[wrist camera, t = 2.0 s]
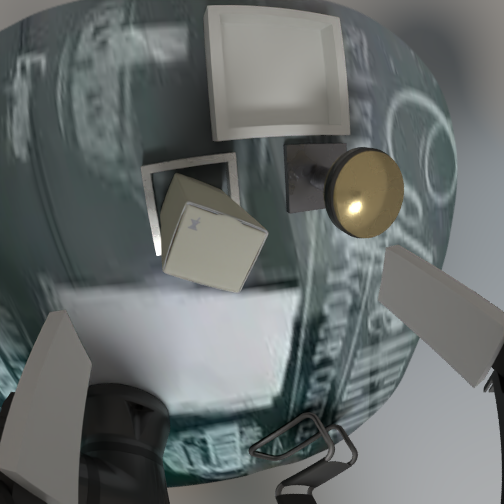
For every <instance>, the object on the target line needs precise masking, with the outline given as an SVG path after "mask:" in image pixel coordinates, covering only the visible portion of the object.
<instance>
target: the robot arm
mask: <svg viewBox="0 0 504 504" xmlns="http://www.w3.org/2000/svg"><path fill="white" fill-rule="evenodd" d="M378 301H379V302H380V303H382V304H383V305H384V306H385V307H386V308H387V309H389V310H390V311H391V312H392V313H393V314H394V315H395V316H397V317H398V318H399V319H400V320H401V321H402V322H403V323H404V324H406V325H407V326H408V327H409V328H410V329H411V330H412V331H413V332H415V333H416V334H417V335H418V336H419V337H420V338H421V339H422V340H423V341H425V342H426V343H427V344H428V345H429V346H430V347H431V348H432V349H433V350H434V351H435V352H436V353H437V354H439V355H440V356H441V357H442V358H443V359H444V360H445V361H446V362H447V363H448V364H449V365H451V367H452V368H453V369H455V370H456V371H457V372H458V373H459V374H460V375H461V376H462V377H463V378H464V379H465V380H466V381H467V382H468V383H469V384H470V385H471V386H472V387H473V388H475V387H476V386H477V385H478V384H479V383H480V382H481V381H482V380H484V378H485V377H486V375H487V374H488V372H489V370H490V368H491V367H492V368H493V369H494V371H493V373H492V375H491V376H490V378H489V380H488V381H487V383H486V384H485V386H484V392H486V391H487V389H488V388H489V386H490V385H491V383H493V384H492V386H491V388H490V389H489V392H495V398H496V404H497V411H498V419H499V426H500V437H501V453H502V493H501V504H504V312H503V311H501V310H500V309H499V308H498V307H496V306H495V305H493V304H492V303H490V302H489V301H488V300H486V299H485V298H483V297H482V296H480V295H479V294H477V293H476V292H474V291H473V290H471V289H469V288H468V287H466V286H465V285H463V284H462V283H460V282H459V281H457V280H456V279H454V278H452V277H451V276H449V275H448V274H446V273H445V272H443V271H441V270H440V269H438V268H437V267H435V266H433V265H432V264H430V263H428V262H427V261H425V260H423V259H422V258H420V257H418V256H417V255H415V254H413V253H412V252H410V251H408V250H406V249H405V248H403V247H401V246H399V245H395V246H391V247H386V252H385V260H384V267H383V273H382V280H381V286H380V292H379V297H378ZM91 368H92V363H91V361H90V359H89V357H88V355H87V353H86V351H85V349H84V347H83V345H82V343H81V341H80V339H79V337H78V335H77V333H76V331H75V329H74V327H73V325H72V322H71V320H70V318H69V316H68V313H67V311H66V310H60V311H53V312H50V313H49V315H48V317H47V319H46V321H45V323H44V325H43V327H42V329H41V331H40V333H39V335H38V337H37V340H36V342H35V344H34V346H33V349H32V351H31V353H30V356H29V358H28V360H27V363H26V365H25V368H24V370H23V373H22V375H21V378H20V381H19V383H18V386H17V389H16V392H11V393H10V394H9V396H8V397H7V399H6V400H5V401H4V403H3V405H2V408H0V504H170V502H169V497H168V492H167V486H166V480H165V474H164V468H163V460H162V457H163V454H164V450H165V446H166V443H167V439H168V436H169V432H170V420H169V413H168V411H167V409H166V407H165V406H164V404H163V403H162V402H161V401H159V400H158V399H157V398H155V397H154V396H152V395H151V394H149V393H147V392H144V391H142V390H139V389H137V388H133V387H130V386H125V385H119V384H97V385H93V386H89V387H88V384H89V378H90V373H91Z"/></svg>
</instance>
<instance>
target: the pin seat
mask: <svg viewBox="0 0 504 504" xmlns="http://www.w3.org/2000/svg"><path fill="white" fill-rule="evenodd" d="M220 162H225V167H226V177H227V188H228V196H229V197H230V198H231V199H232V200H233V201H235V202H236V203H237V204H238V205H239V206H240V198H239V187H238V176H237V164H236V153H235V152H225V153H217V154H209V155H201V156H194V157H187V158H181V159H174V160H168V161H162V162H157V163H151V164H146V165H142V166H141V172H142V179H143V185H144V192H145V198H146V203H147V209H148V215H149V220H150V225H151V230H152V235H153V240H154V245H155V250H156V254H157V256H158V255H162V254H161V228H160V223H159V218H158V212H157V206H156V200H155V194H154V187H153V181H152V174H151V173H155V172H161V171H166V170H172V169H178V168H185V167H191V166H198V165H205V164H213V163H220Z"/></svg>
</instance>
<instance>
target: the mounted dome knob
mask: <svg viewBox="0 0 504 504" xmlns="http://www.w3.org/2000/svg"><path fill="white" fill-rule="evenodd" d="M284 162H285V182H286V206H287V212H288V213H296V212H303V211H310V210H317V209H325V208H326V211H327V213H328V215H329V218H330V219H331V221H332V222H333V224H334V225H335V226H336V227H337V228H339V229H340V230H342V231H343V232H345V233H346V234H348V235H350V236H352V237H355V238H371V237H375V236H377V235H379V234H381V233H383V232H384V231H385V230H387V229H388V228H389V227H390V226H391V224H392V223H393V222H394V220H395V219H396V217H397V215H398V213H399V211H400V209H401V205H402V202H403V196H404V183H403V177H402V174H401V171H400V169H399V167H398V165H397V164H396V163H395V161H394V160H393V159H392V158H391V157H390V156H389V155H387V154H386V153H385V152H383V151H381V150H378V149H374V148H367V147H358V148H354V149H351V150H349V151H347V150H346V143H316V144H291V145H284Z"/></svg>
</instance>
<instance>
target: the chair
mask: <svg viewBox="0 0 504 504" xmlns="http://www.w3.org/2000/svg"><path fill="white" fill-rule="evenodd" d="M305 418H311V419H313V421H314V422H315V424H316V426H317V428H318V429H319V431H320V432H319V433H317V434H316V435H314V436H313V437H311V438H310V439H308V440H307V441H305V442H304V443H302V444H301V445H299V446H297V447H296V448H294V449H293V450H291V451H289V452H288V453H286V454H284V455H281V456H277V457H273V456H269V455H265V454H261V453H257V452H254V451H255V450H256V449H258V448H259V447H261V446H263V445H264V444H266V443H268V442H269V441H271V440H273V439H274V438H276V437H278V436H279V435H281V434H282V433H284V432H285V431H287V430H288V429H290V428H291V427H293V426H294V425H296V424H297V423H299V422H300V421H302V420H303V419H305ZM331 429H337V430H338V431H339V432H340V434H341V435H342V437H343V439H344V440H345V442H346V443H347V445H348V446H349V448H350V450H351V451H352V454H353V456H352V460H351V461H350V462H348V463H342V462H336V461H334V462H333V461H332V462H328V461H329V460H331V458H332V457H333V455H334V452H335V445H334V443H333V441H332V439H331V438H330V436H329V434H328V433H327V432H328V431H330V430H331ZM321 436H323V438H324V440H325V442H326V443H327V445H328V448H329V451H328V454H327V455H326V457H324V458H323V459H321V460H319V461H318V462H316V463H314V464H313V465H311V466H309V467H307V468H306V469H304V470H302V471H300V472H299V473H297V474H295V475H293V476H291V477H289V478H287V479H286V480H284V481H282V482H281V483H280V484H279V485H278V486H277V488H276V491H275V497H276V500H277V502H278V504H317V503H316V501H315V499H314V498H313V496H312V491H313V489H314V488H316V487H318V486H319V485H321V484H323V483H325V482H326V481H328V480H330V479H331V478H333V477H335V476H337V475H338V474H340V473H341V472H343V471H344V470H346V469H348V468H349V467H351V466H352V465H353V464H354V463H355V462H356V460H357V457H358V452H357V450H356V448H355V447H354V445H353V443H352V442H351V440H350V439H349V437H348V435H347V434H346V432H345V431H344V429H343V428H342V427H341V426H339V425H336V424H333V425H330V426H328V427H326V428H324V426H323V424H322V422H321V421H320V419H319V417H318V416H317V415H316V414H314V413H311V412H307V413H303V414H301V415H300V416H298V417H297V418H295V419H294V420H293V421H291V422H290V423H288V424H287V425H285V426H284V427H282V428H280V429H279V430H277V431H276V432H274V433H273V434H271V435H270V436H268V437H266V438H265V439H263V440H261V441H260V442H258V443H256V444H255V445H253V446H252V447H251V448H250V450H249V454H250V455H251V456H254V457H258V458H262V459H267V460H271V461H278V460H282V459H285V458H287V457H289V456H291V455H292V454H294V453H296V452H297V451H299V450H301V449H302V448H304V447H305V446H307V445H309V444H310V443H312V442H313V441H315V440H316V439H318V438H319V437H321ZM290 485H305V486H310V487H309V488H308V491H307V494H283V495H281V491H282V489H283V488H284V486H290Z"/></svg>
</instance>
